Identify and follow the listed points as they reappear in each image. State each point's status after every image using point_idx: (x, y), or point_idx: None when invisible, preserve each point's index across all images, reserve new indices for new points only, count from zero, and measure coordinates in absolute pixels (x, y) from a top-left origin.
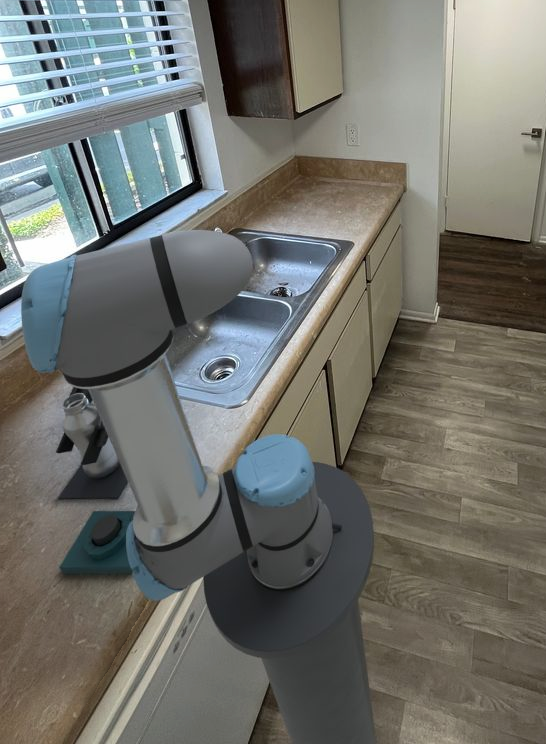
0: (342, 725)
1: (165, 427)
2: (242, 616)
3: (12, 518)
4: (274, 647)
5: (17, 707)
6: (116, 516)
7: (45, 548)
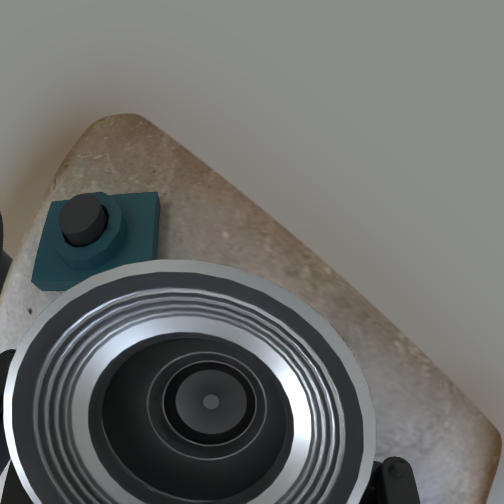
0: None
1: None
2: None
3: (336, 279)
4: None
5: (139, 121)
6: (77, 249)
7: (223, 236)
